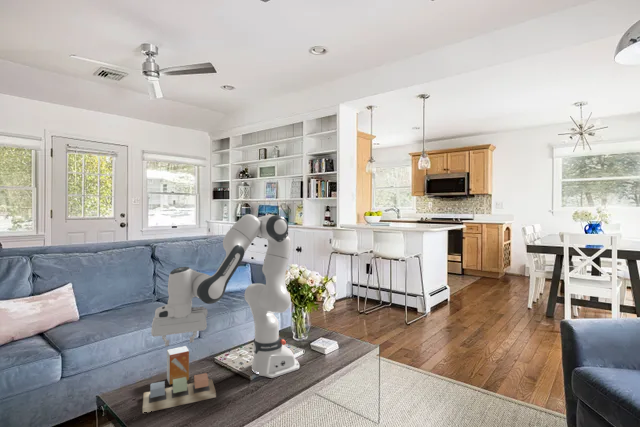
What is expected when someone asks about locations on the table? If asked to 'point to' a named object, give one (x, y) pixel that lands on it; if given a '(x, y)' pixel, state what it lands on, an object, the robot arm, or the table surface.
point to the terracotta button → (201, 380)
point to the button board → (178, 397)
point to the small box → (177, 363)
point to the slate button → (157, 389)
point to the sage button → (179, 385)
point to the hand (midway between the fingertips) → (179, 343)
